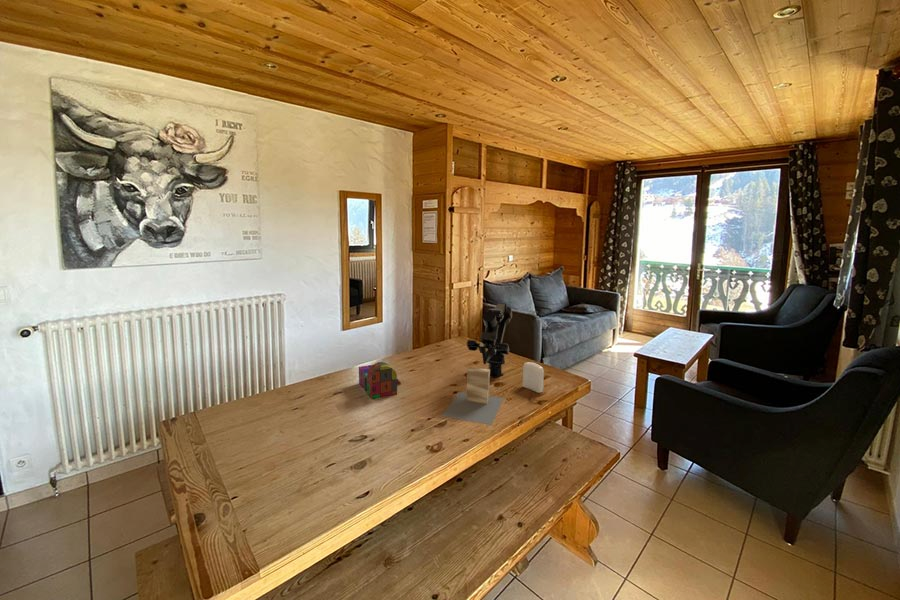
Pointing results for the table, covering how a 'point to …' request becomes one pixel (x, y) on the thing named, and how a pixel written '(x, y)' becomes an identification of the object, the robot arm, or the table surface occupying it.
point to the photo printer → (533, 377)
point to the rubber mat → (473, 409)
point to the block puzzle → (378, 380)
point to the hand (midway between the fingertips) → (484, 363)
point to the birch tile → (478, 385)
